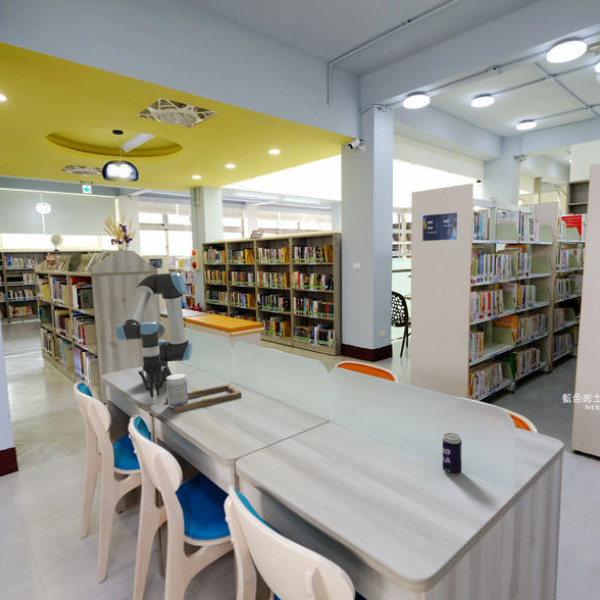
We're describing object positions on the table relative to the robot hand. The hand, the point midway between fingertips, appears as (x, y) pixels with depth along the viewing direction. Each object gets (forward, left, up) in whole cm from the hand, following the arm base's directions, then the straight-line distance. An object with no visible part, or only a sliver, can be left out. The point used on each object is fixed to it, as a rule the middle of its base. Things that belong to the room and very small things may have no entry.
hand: (155, 403), depth 189 cm
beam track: (0, +23, -4) cm, 23 cm away
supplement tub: (0, +11, -4) cm, 11 cm away
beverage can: (+115, +68, -4) cm, 134 cm away
